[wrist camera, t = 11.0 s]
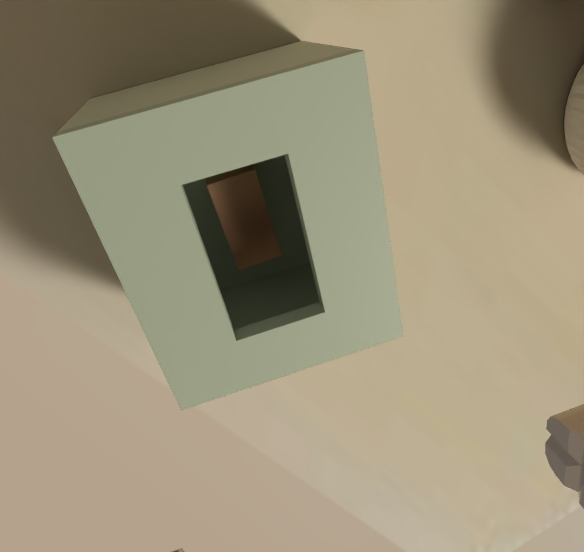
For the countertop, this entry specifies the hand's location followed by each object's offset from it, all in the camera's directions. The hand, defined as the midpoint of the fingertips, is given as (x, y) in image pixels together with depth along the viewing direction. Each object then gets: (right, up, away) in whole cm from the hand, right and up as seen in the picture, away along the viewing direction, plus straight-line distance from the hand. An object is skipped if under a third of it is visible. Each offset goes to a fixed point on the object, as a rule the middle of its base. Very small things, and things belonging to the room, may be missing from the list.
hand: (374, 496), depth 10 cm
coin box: (-5, +10, +20) cm, 23 cm away
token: (-5, +10, +19) cm, 22 cm away
